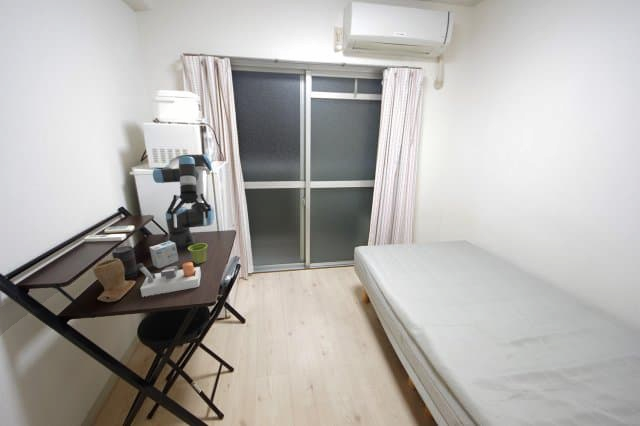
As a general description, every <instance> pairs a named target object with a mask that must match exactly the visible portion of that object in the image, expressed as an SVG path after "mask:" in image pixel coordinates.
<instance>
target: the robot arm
mask: <svg viewBox="0 0 640 426" xmlns="http://www.w3.org/2000/svg"><path fill="white" fill-rule="evenodd" d="M211 170H212V171H213V167H212V163H211V158H210V155H208V154H206V153H205V154H182V155H179V156H176V157H174V158H172V159H171V160H170V161H169V163H168V164H167V165H165V166H164V167H163V168H155V169H153V170H152V177H153V181H154V182H155V183H157V184H164V183H165V184H166V183H179V186H180V187H179V189H180V191H179V192H180V193H179V194H180V195H177V194H174V195H173V197H172V201H171V202H170V205H169V206H168V208H167V211H165V214H164V215H165V222H166V225H167V231H168V237H167V241H171V242H174V243H175V244H176V249H183V248H188V247H190V246H191V245H194V244H195V242H196V241H195V237H194V236H193V234H192V233H191V230H190V228H200V227H209V226H212V225H213V224H214V221H215V220H214V218H215V210H214V208H213V207H212V205H211V204H210V203H209V180H208V176H209V175H210V173H211V172H212V171H211ZM179 199H180V201H179V203H178V204H177V205H176V203H177V201H178V200H179ZM185 204H186V205H188V204H191V206H190V207H191V208H187V207H186V206H184V205H185Z"/></svg>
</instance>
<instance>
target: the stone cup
mask: <svg viewBox="0 0 640 426" xmlns="http://www.w3.org/2000/svg"><path fill="white" fill-rule="evenodd" d="M92 269H93V274H94V276H95V278H97V280H98V281H99V282H100V284H101V285H102V287H103V288H104V289H103V290H104V291H102V293H101V294H100V295H99V296H98V297H97V300H98V301H101V302H104V303H105V302H106V303H113V302H117V301H119V300H120V299H122V297H124V296H125V295H126V294H127V293H128V292H129V291H130V290H131V289H132V288H133V286H134V285H135V284H136V280H126V281H125V277H124V273H125V270H124V266H123V263H122V261H121V260H120V259H118V258H116V259H113V258H111V259H107V260H104V261H101V262H98V263H97V264H95V265H94V266H93V268H92Z"/></svg>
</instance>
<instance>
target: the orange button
mask: <svg viewBox="0 0 640 426" xmlns="http://www.w3.org/2000/svg"><path fill="white" fill-rule="evenodd" d="M194 268H195V267H194V262H191V261H190V262H189V261H188V262H184V263H183V264H182V269H183V272H184V278H185V277H191V276H195V273H194Z"/></svg>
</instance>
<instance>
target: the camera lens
mask: <svg viewBox="0 0 640 426" xmlns="http://www.w3.org/2000/svg"><path fill="white" fill-rule="evenodd" d="M111 251H112V252H111V254H112V259H116V258H118V259H120V260H121V261H122V263H123V266H124V270H125V273H124V277H125V281H132V280H133V279H135V278H137V277H138V275H139V274H138V273H139V268H137V265H138V264H137V261H136V255H135V250H134V247H133V246H132V245H121V246H118V247H116V248H114V249H113V250H111Z"/></svg>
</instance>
